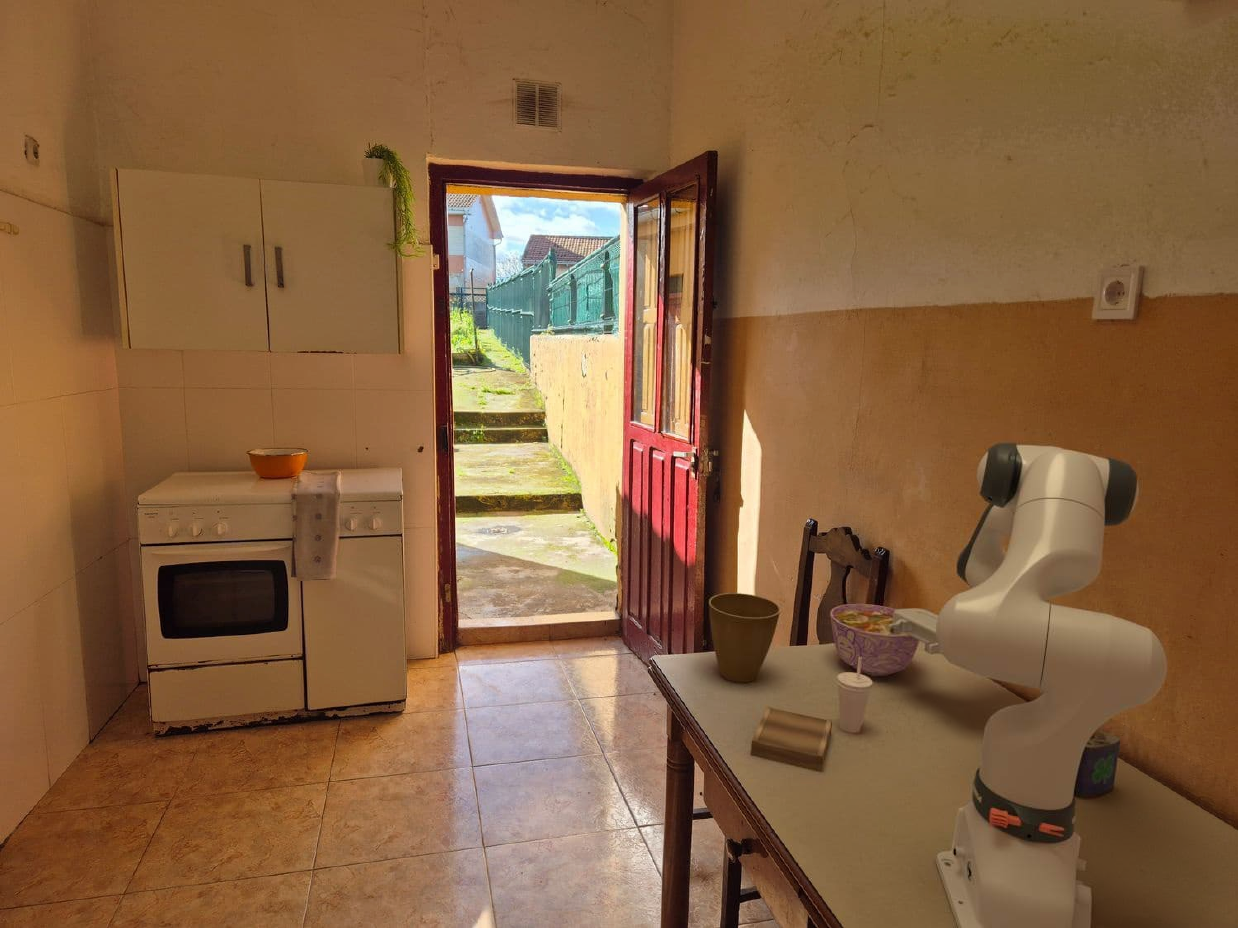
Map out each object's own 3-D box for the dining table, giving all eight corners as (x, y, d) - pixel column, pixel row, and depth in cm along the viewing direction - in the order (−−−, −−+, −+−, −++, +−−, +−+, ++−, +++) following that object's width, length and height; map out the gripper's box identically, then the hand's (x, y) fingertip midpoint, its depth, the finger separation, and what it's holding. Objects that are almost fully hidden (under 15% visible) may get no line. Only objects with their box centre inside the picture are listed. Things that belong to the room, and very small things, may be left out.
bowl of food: (822, 677, 167) (827, 626, 165) (828, 644, 186) (832, 598, 184) (921, 695, 161) (927, 642, 159) (917, 659, 180) (922, 611, 178)
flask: (1102, 781, 131) (1111, 722, 129) (1119, 790, 128) (1129, 730, 127) (1065, 792, 127) (1074, 731, 125) (1082, 802, 125) (1092, 740, 123)
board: (821, 771, 130) (823, 756, 129) (750, 754, 134) (751, 739, 134) (831, 733, 143) (832, 719, 142) (765, 719, 147) (767, 706, 146)
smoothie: (867, 739, 141) (874, 666, 139) (831, 731, 143) (838, 660, 141) (868, 723, 147) (875, 653, 145) (833, 716, 149) (840, 647, 147)
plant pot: (693, 680, 163) (698, 607, 160) (718, 656, 176) (723, 588, 173) (762, 697, 156) (768, 621, 153) (782, 671, 169) (788, 601, 166)
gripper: (924, 597, 162) (872, 604, 157) (1007, 634, 144) (952, 643, 138) (921, 626, 163) (869, 634, 158) (1003, 666, 145) (948, 676, 139)
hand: (908, 638), depth 148 cm, fingers open, 8 cm apart
